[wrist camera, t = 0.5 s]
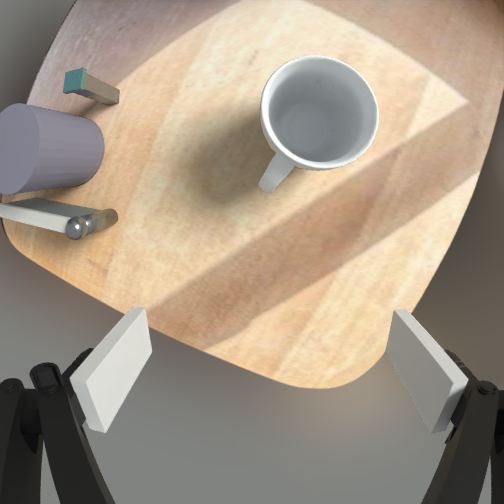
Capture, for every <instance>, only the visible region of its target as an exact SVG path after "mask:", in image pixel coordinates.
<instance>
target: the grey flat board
mask: <svg viewBox="0 0 504 504" xmlns="http://www.w3.org/2000/svg"><path fill="white" fill-rule="evenodd" d="M99 211H101V210H96V209H91V208H86V207H80V206H75V205H70V204H64V203H59V202H54V201H48V200H43V199H37V198H31V199H26V200H21V201H15V202H10V203H5V204H4V203H0V217H2V218H6V219H10V220H14V221H17V222H21V223H25V224H29V225H33V226H37V227H41V228H46V229H50V230H54V231H58V232H62V233H66V231H65V226H66V223H67V221H68V220H69V219H70V218H72V217H76V216H77V217H81V216H85V215H88V214H92V213H95V212H99Z"/></svg>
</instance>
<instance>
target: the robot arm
mask: <svg viewBox="0 0 504 504" xmlns="http://www.w3.org/2000/svg"><path fill="white" fill-rule="evenodd" d="M151 353H152V348H151V342H150V336H149V330H148V323H147V317H146V310H145V308H141V307H132V308H131V309H130V310H129V311H128V312H127V313H126V314H125V315H124V317H123V318H122V319H121V320H120V321H119V322H118V323H117V324H116V325H115V327H114V328H113V329H112V330H111V331H110V332H109V333H108V334H107V336H106V337H105V338H104V339H103V340H102V341H101V342H100V343H99V344H98V346H97V347H96V348H95V349H93V348H89V349H87V350H86V351H84V352H82V353H81V354H80V355H79V356H78V357H77V358H76V360H75V361H74V362H73V363H72V365H70V366H69V367H68V368H67V369H66V371H65V372H64V373H63V374H62V375H61V373H60V370H59V368H58V366H57V365H56V364H54V363H49V362H48V363H42V364H38V365H37V366H35V367H33V368H32V370H31V371H30V377H31V380H32V382H33V384H34V387H35V389H25V388H24V386H23V383H22V382H21V380H19V379H16V378H11V379H6V380H4V381H3V382H1V383H0V504H40V486H41V485H40V484H41V463H42V450H43V440H44V443H45V448H46V453H47V457H48V461H49V465H50V469H51V473H52V477H53V481H54V484H55V488H56V491H57V494H58V497H59V500H60V504H115V502H114V500H113V498H112V496H111V494H110V492H109V489H108V487H107V485H106V483H105V481H104V479H103V476H102V474H101V472H100V469H99V467H98V465H97V462H96V460H95V458H94V455H93V453H92V450H91V447H90V445H89V442H88V439H87V437H86V434H85V431H84V429H83V427H82V424H83V423H84V421H85V420H86V421H87V423H88V425H89V427H90V429H92V430H96V431H100V432H104V433H106V431H107V429H108V428H109V426H110V424H111V422H112V420H113V419H114V417H115V415H116V413H117V411H118V410H119V408H120V406H121V405H122V403H123V401H124V399H125V397H126V396H127V394H128V392H129V391H130V389H131V387H132V385H133V384H134V382H135V380H136V378H137V377H138V375H139V373H140V372H141V370H142V368H143V366H144V365H145V363H146V361H147V360H148V358H149V356H150V354H151ZM385 354H386V356H387V358H388V359H389V361H390V363H391V364H392V366H393V368H394V370H395V371H396V373H397V375H398V376H399V378H400V380H401V382H402V383H403V385H404V387H405V388H406V390H407V392H408V394H409V395H410V397H411V399H412V401H413V403H414V404H415V406H416V408H417V410H418V411H419V413H420V415H421V417H422V419H423V421H424V423H425V424H426V426H427V428H428V430H429V432H430V434H432V433H436V432H440V431H444V430H446V428H447V425H448V423H449V422H450V420H451V421H452V423H453V424H454V427H453V429H452V431H451V432H450V434H449V436H448V438H447V440H446V441H445V444H446V447H445V450H444V452H443V455H442V458H441V460H440V463H439V465H438V468H437V470H436V472H435V475H434V477H433V479H432V482H431V484H430V486H429V488H428V490H427V493H426V494H425V497H424V499H423V501H422V503H421V504H477V503H478V500H479V497H480V493H481V490H482V487H483V483H484V479H485V475H486V471H487V467H488V462H489V458H490V459H491V488H492V489H491V491H492V493H491V504H504V390H498V388H497V387H496V386H495V385H494V384H493V383H491V382H488V381H478V380H477V378H476V377H475V376H474V375H473V374H472V373H471V371H470V370H469V369H468V368H467V367H465V365H464V364H463V362H461V360H460V359H459V358H458V357H457V356H456V355H455V354H454V353H452V352H450V351H449V350H443V349H442V348H441V347H440V346H439V345H438V343H437V342H436V341H435V340H434V339H433V338H432V337H431V336H430V334H429V333H428V332H427V331H426V330H425V329H424V328H423V327H422V326H421V325H420V323H419V322H418V321H417V320H416V319H415V318H414V317H413V316H412V315H411V314H410V313H409V312H408V311H407V309H399V310H394V312H393V317H392V322H391V328H390V332H389V337H388V342H387V346H386V351H385Z"/></svg>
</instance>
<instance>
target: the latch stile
mask: <svg viewBox="0 0 504 504" xmlns="http://www.w3.org/2000/svg"><path fill="white" fill-rule="evenodd" d="M86 70H87V69H85V68H80V69H77V70H73V71H69V72H66V74H65V81H64V89H63V93H66V94H68V93H72V92H73V93H76V94H79V95H81V96H84V97H87V98H90V99H92V100H95V101H98V102H100V103H103V104H106V105H109V104H116V103H119V92H120V90H118V89H116V88H114V87H113V86H111V85H109V84H107V83H105V82H103V81H101V80H99V79H97V78H95V77H93V76H91V75H89V74H87V73H86Z"/></svg>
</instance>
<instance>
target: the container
mask: <svg viewBox="0 0 504 504" xmlns="http://www.w3.org/2000/svg"><path fill="white" fill-rule="evenodd" d="M103 154H104V139H103V135H102V132H101V130H100V128H99V127H98V126H97V124H96V123H95V122H93V121H92V120H90V119H87V118H83V117H79V116H75V115H71V114H67V113H63V112H59V111H54V110H50V109H46V108H41V107H36V106H32V105H27V104H21V103H20V104H13V105H11V106H9V107H7V108H6V109H5V110H4V111H2V112H1V113H0V193H1V194H5V195H11V194H17V193H24V192H30V191H37V190H44V189H52V188H60V187H68V186H77V185H80V184H83V183H85V182H87V181H88V180H90V179H91V178H92V177H93V176H94V175H95V173H96V172H97V170H98V169H99V167H100V165H101V162H102V159H103Z"/></svg>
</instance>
